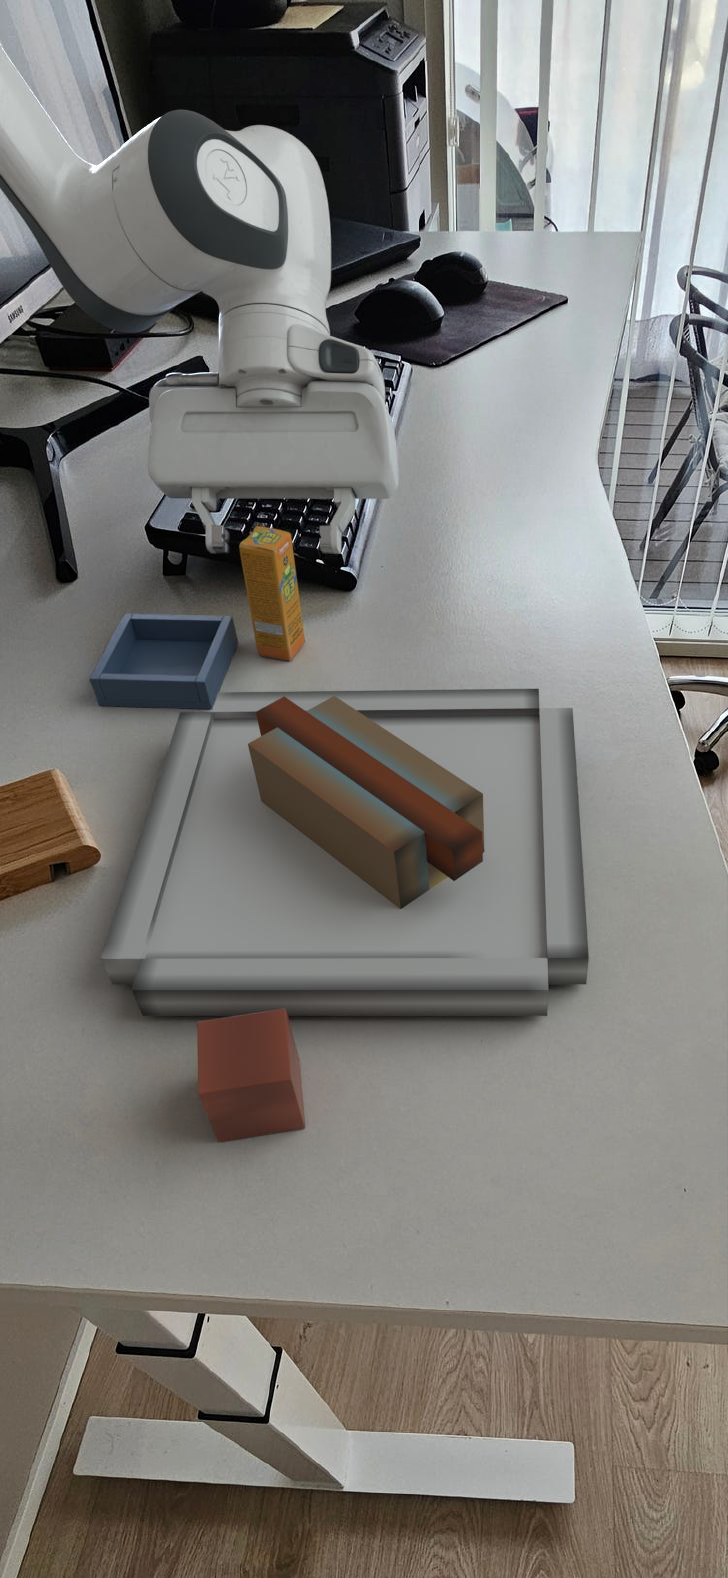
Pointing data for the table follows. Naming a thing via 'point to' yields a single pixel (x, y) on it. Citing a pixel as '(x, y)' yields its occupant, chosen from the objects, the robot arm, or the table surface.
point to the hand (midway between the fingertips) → (273, 551)
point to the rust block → (250, 1075)
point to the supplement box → (272, 592)
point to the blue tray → (165, 661)
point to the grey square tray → (358, 858)
